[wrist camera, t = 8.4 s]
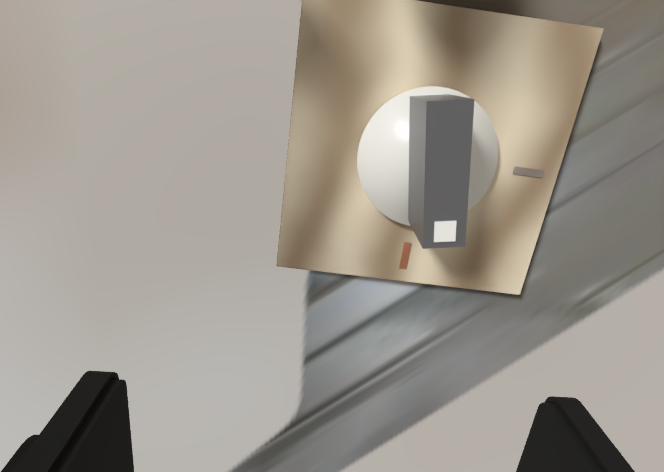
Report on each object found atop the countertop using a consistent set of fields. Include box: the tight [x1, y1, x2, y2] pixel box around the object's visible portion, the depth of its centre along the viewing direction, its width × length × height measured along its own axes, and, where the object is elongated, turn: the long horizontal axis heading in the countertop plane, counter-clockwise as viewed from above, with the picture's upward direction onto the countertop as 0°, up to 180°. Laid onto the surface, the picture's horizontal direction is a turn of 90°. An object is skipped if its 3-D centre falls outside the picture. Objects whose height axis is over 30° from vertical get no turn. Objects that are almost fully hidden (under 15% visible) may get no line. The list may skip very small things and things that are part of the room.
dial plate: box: [277, 0, 603, 295], centre depth 29 cm, size 18×18×1 cm
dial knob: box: [357, 86, 498, 249], centre depth 26 cm, size 9×9×6 cm
